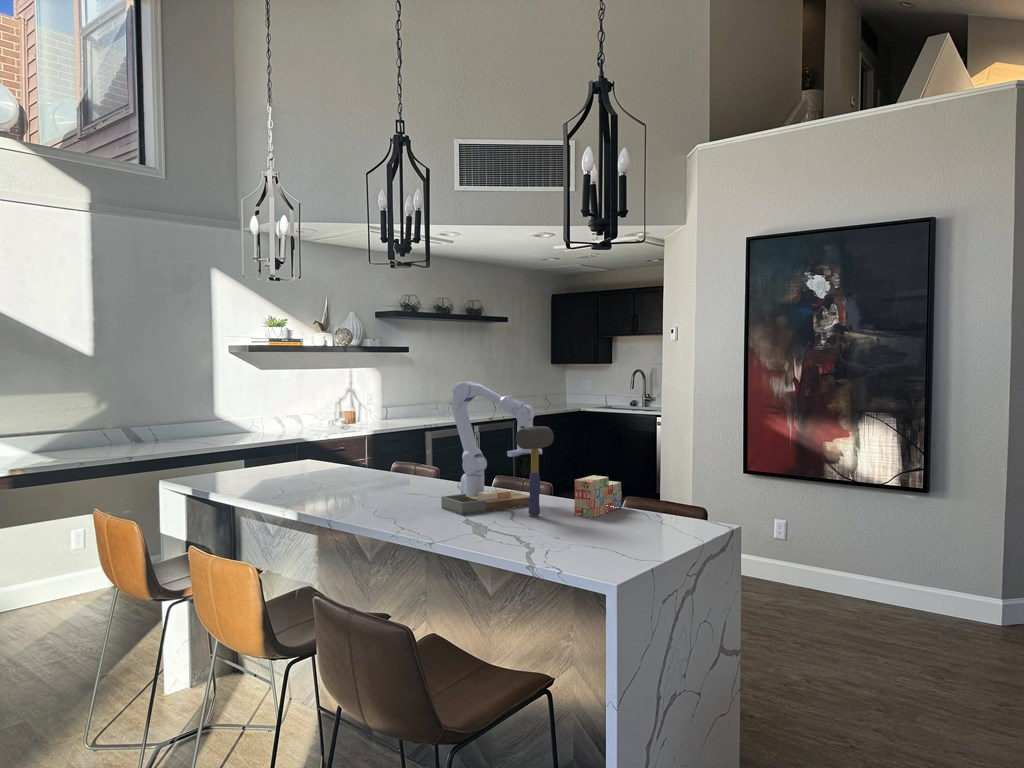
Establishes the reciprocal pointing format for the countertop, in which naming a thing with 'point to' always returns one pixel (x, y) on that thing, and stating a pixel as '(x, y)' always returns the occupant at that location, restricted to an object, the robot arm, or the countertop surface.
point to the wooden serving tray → (503, 501)
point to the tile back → (503, 493)
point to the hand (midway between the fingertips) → (524, 474)
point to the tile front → (488, 495)
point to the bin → (462, 504)
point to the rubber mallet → (534, 459)
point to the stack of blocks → (596, 495)
